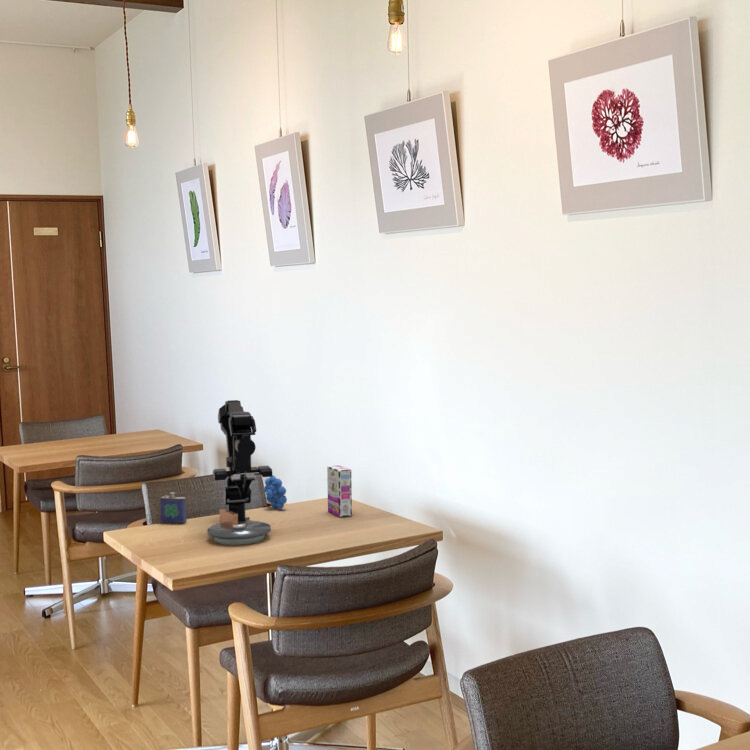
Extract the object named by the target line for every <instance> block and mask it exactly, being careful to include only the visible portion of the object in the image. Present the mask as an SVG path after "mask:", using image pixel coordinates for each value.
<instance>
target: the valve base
mask: <svg viewBox="0 0 750 750" xmlns="http://www.w3.org/2000/svg"><path fill="white" fill-rule="evenodd" d="M265 536H266V534H265V535H262V536H258V537H253V538H245V539H221V538H215V537H213V540H214V542H215V543H217V544H221V545H229V546H236V545H237V546H239V545H248V544H250V545H251V544H254V543H259V542H261V541H263V540H264V539H265V538H266V537H265Z"/></svg>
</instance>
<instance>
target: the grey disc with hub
mask: <svg viewBox="0 0 750 750" xmlns="http://www.w3.org/2000/svg"><path fill="white" fill-rule="evenodd" d="M271 528H272V527H271V524H269V523H267V522H263V521H255V520H246V521H238V514H237V513H234V512H231V511H229V509H228V510H227V509H225V508H223V509H222V508H221V509H219V523H216V524H213V525H210V526H208V527H207V529H206V531H207V532H206V535H208V536H210V537H212V538H214V537H215V538H221V539H245V538H253V537H258V536H262V535H265V536H266V535H267V534H268V533H269V534H270V532H271V531H272V529H271Z"/></svg>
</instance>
